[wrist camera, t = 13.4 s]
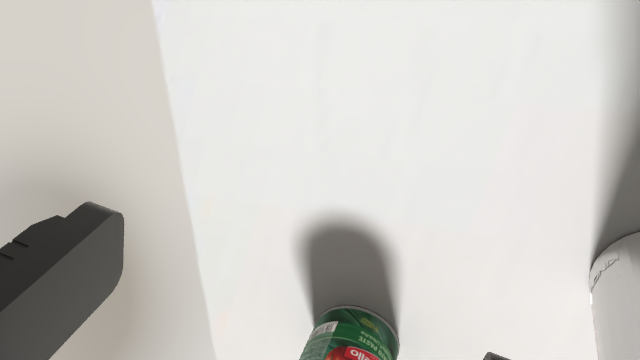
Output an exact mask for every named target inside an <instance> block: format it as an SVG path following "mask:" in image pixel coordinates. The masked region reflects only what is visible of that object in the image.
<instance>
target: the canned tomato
mask: <svg viewBox="0 0 640 360" xmlns="http://www.w3.org/2000/svg"><path fill="white" fill-rule="evenodd" d="M398 354H399V341H398V338H397V335H396V333H395V331H394V330H393V328H392V327H391V326H390V325H389V324H388V323H387V321H386V320H384V319H383V318H382V317H380V316H379V315H377V314H376V313H374V312H372V311H370V310H367V309H364V308H361V307H356V306H346V305H344V306H337V307H333V308H330V309H328V310H327V311H325V312H323V313H322V314H321V315H320V316H319V318H318V319H317V321H316V323H315V327H314V329H313V331H312V333H311V335H310V338H309V340H308V341H307V344H306V346H305V348H304V351H303V353H302V354H301V357H300V359H299V360H396V359H397V357H398Z"/></svg>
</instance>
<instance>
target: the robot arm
mask: <svg viewBox="0 0 640 360" xmlns="http://www.w3.org/2000/svg"><path fill="white" fill-rule="evenodd" d="M123 246H124V218H123V215H122V214H121V213H119V212H116V211H114V210H111V209H108V208H106V207H103V206H100V205H98V204H95V203H92V202H86V203H84V204H82V205H81V206H79V207H78V208H77V209H76V210H74V211H73V212H72V213H71V214H69V215H68V216H67V217H66V218H63V217H61V216H58V215H57V216H54V217H51V218H49V219H46V220H43V221H41V222H38V223H36V224H33V225H31V226H30V227H29V228H27V229H26V230H25V231H23V232H22V233H21V234H19V235H18V236H17V237H15V238H14V239H13V241H12V243H7V244H6V245H5V246H4V247H2V248H1V249H0V360H49V359H50V358H51V356H52V355H53V354H54V353H55V352H56V351H57V350H58V349H59V348H60V347H61V346H62V345H63V344H64V342H66V341H67V340H68V338H69V337H70V336H71V335H72V334H73V333H74V332H75V331H76V330H77V329H78V328H79V327H80V326H81V325H82V324H83V323H84V321H86V319H87V318H88V317H89V316H90V315H91V314H92V313H93V312H94V311H95V310H96V309H97V308H98V307H99V306H100V305H101V304H102V302H103V301H104V300H105V299H106V298H107V297H108V296H109V295H110V294H111V293H112V292H113V290H114V288H115V287H116V285H117V284H118V282H119V279H120V277H121V274H122V269H123ZM589 288H590V303H591V305H592V313H593V322H594V330H595V338H596V346H597V354H598V360H640V232H637V233H634V234H631V235H628V236H625V237H623V238H621V239H619V240H618V241H616V242H614V243H612V244H611V245H610V246H609V247H607V248H606V249H605V250H604V251H603V252H602V253H601V254H600V255H599V257H598V258H597V259H596V261H595V262H594V264H593V267H592V269H591V271H590V278H589ZM483 360H510V359H507V358H505V357H502V356H499V355H497V354H494V353H491V352H488V353H487V354H486V355H485V357H484V359H483Z"/></svg>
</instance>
